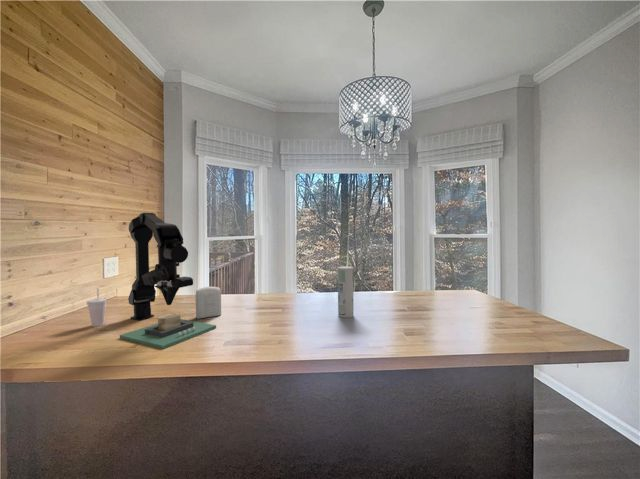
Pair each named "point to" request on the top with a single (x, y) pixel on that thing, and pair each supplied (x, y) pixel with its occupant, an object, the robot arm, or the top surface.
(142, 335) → the socket board
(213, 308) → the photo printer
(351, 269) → the spray can
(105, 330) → the top surface
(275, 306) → the top surface
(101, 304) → the smoothie
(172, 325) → the plug
